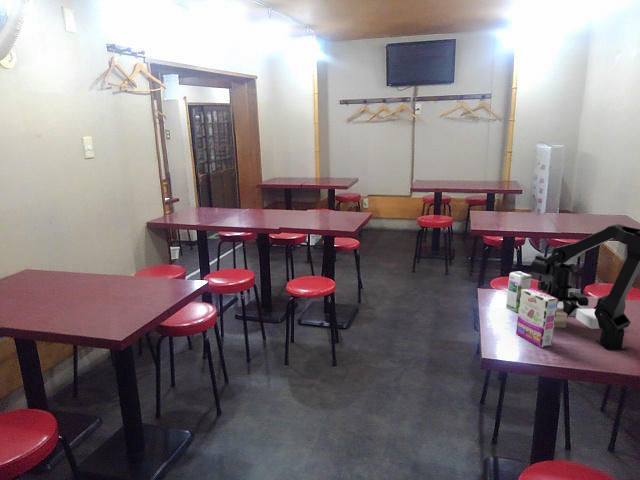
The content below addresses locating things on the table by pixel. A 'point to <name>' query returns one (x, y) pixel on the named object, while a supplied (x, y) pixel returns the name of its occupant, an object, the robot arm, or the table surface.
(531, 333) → the candy bar box
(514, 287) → the syrup box
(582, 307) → the stone block
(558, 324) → the birch cube
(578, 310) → the base block
